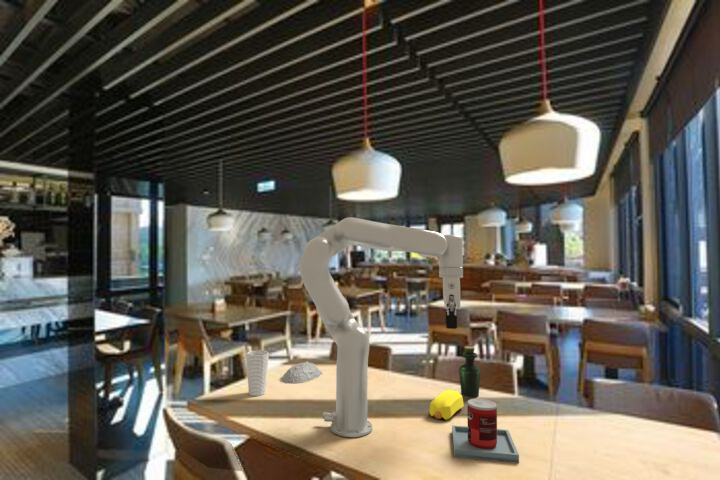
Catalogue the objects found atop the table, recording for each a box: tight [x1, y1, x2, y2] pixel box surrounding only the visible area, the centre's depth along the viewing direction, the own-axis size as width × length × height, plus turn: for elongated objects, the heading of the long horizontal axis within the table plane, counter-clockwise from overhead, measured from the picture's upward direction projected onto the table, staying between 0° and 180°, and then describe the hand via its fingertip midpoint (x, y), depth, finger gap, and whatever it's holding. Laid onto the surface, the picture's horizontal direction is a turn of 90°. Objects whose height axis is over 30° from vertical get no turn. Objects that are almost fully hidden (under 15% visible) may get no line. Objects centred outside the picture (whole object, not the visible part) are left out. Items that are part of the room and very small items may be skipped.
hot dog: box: [428, 389, 465, 421], centre depth 140 cm, size 18×7×8 cm
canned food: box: [466, 397, 498, 449], centre depth 114 cm, size 8×8×11 cm
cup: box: [245, 349, 270, 397], centre depth 158 cm, size 8×8×16 cm
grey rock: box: [280, 361, 323, 385], centre depth 182 cm, size 16×25×7 cm, turn 161°
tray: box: [451, 425, 520, 464], centre depth 114 cm, size 16×16×2 cm
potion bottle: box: [458, 345, 482, 398], centre depth 159 cm, size 8×8×18 cm
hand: (451, 326), depth 133 cm, fingers open, 9 cm apart
